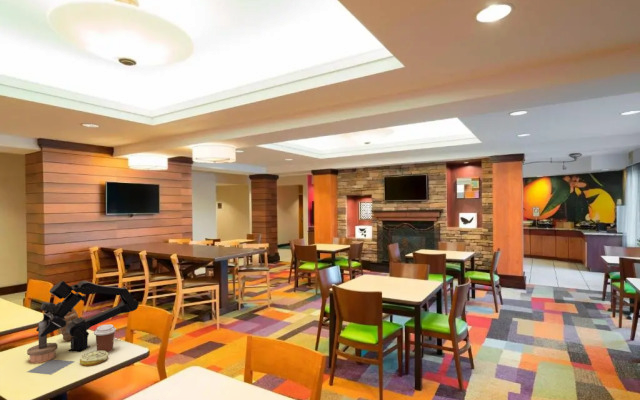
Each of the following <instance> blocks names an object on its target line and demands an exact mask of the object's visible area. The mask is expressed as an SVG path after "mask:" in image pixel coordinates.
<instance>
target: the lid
mask: <svg viewBox="0 0 640 400" xmlns="http://www.w3.org/2000/svg"><path fill="white" fill-rule="evenodd" d="M38 326H39V331H38V344H36V345H33V346H31V347H29V348H28V349H27V350H26V352H27V353H26V354H27V356H30V355H31V356H37V355H43V354H47V353H50V352H53V351H55V352H56V350H57V349H58V345H59V344H58V343H56V342H48V334H47V335H45V336H43V337H41V336H40V335H41V333H42V332H43V331H44V330H45V328H46V327H47V321H42V320H41V321H38Z"/></svg>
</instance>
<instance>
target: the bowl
mask: <svg viewBox="0 0 640 400" xmlns="http://www.w3.org/2000/svg"><path fill="white" fill-rule="evenodd" d="M55 356H56V350H55V351H53V352H50V353H47V354H43V355H37V356H31V355H29V363H31V364H40V363H45V362H47V361H50V360H52V359H54V358H55Z"/></svg>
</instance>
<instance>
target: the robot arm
mask: <svg viewBox="0 0 640 400" xmlns="http://www.w3.org/2000/svg"><path fill="white" fill-rule="evenodd" d="M49 293H50V294H51V295H53V296H54V297H56V298H58V300H61V299H63V300H62V301H60V302H57V303H54V302H53V303H52V302H48V301H42V304H41V306H40V308H39V309H40V310H41V311H43V313H42V315H43V316H42V317H43V318H42V319H41V321H47V327H46V328H45V330H44V331H43V332H42V333H41V335H40V336H41V337H43V336H45V335H47V336H48V335H49V334H51V333H54V332H55V331H58V330H61V327H62V328H63V327H64V326H65V325H66V321H65V320H64V319H65V316H66V315H67V314H68V313H69V312H72V309H73V308H74V309H75V307H76V306H77V305H78V304H79V303H80V302H81V301H82V302H84V303H85V302H86V298H87V296H86V295H94V294H101V295H103V294H104V295H112V296H119V297H120V299H121V302H119V303H118V304H117V305H116V306H113V307H111V308H109V309H106V310H104V311H102V312H100V313H97V314H94V315H93V316H90V317H88V318H83V317H82V316H80V317H79V316H78V319H76V320H72V322H70V323H69V324H68V325H67V327H66V331H67V332H68V333H69V334H70V335H71V336H73V337H71V340H70V349H68V352H72V353H81V352H83V351H84V350H87V349H89V348H91V345H88V343H89V339H88V338H89V334H90V333H89V331H88V330H89V329H91V328H92V327H94V326H97V325H98V324H101V323H103V322H104V321H107V320H109V319H112V318H114V317H116V316H118V315H121V314H126V313H127V314H128V313H131V312H134V311H136V310H138V307H139V306H140V304H139V301H138V300H136V299H135V298H134V297H133V295H132V294H131V293H130V291H129V290H128V288H126V287H124V286H123V287H118V286H109V285H103V284H102V285H101V284H96V283H94V282H91V281H87V280H81V281H80V282H78V283H77V284H73V285H68V283H66V282H65V281H64V280H61V281H59V282H58V283H56V284H54V285H53V286H52V287H51V288H50V290H49ZM80 293H81V294H80ZM35 330H36V332H39V325H38V326H37V328H36V329H35Z"/></svg>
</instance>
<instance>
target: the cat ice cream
mask: <svg viewBox="0 0 640 400" xmlns="http://www.w3.org/2000/svg"><path fill="white" fill-rule="evenodd" d="M78 318H79V314H78V313H77V310H76V309H75V307H74V308H73V309H72V312H69V313H68V314H67V315H66V316H65V319H64V320H65V321H66V325H65V326H64V327H63V328H62V327H61V326H60V327H61V329H60V331H61V335H62V339H63V340H64V341H65V342H71V337H73V336H71V335H70V334H69V333H68V332H67V331H66V327H67V325H68V324H69V323H70V322H72V320H76V319H78Z"/></svg>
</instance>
